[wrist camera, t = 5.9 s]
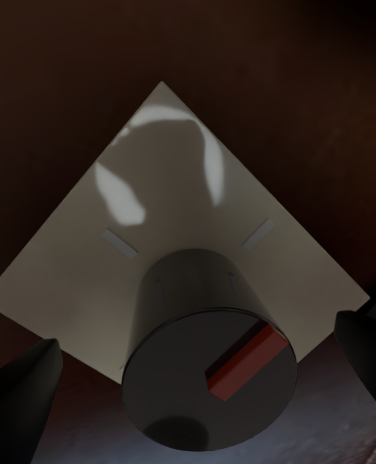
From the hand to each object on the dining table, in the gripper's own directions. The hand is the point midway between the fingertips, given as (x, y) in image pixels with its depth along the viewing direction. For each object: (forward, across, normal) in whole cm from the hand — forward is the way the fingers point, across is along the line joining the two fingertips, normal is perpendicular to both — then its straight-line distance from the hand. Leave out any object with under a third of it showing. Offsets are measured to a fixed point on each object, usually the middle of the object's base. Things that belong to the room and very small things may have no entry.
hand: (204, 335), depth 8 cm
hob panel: (+5, 0, 0) cm, 5 cm away
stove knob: (+2, 0, 0) cm, 2 cm away
